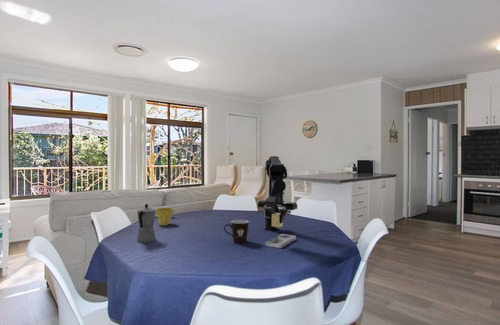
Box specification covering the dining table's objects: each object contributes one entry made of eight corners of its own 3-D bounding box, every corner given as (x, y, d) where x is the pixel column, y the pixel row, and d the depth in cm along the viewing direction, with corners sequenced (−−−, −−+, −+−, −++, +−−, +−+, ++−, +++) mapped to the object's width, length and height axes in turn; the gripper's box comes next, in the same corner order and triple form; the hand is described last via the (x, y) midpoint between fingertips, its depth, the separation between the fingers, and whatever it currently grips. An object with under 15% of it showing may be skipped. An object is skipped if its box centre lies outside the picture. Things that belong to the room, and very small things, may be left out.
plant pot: (166, 221, 191) (166, 206, 191) (176, 223, 185) (176, 208, 185) (152, 224, 182) (152, 208, 182) (163, 226, 176) (163, 210, 176)
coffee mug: (250, 240, 148) (251, 220, 148) (245, 244, 140) (245, 224, 140) (229, 238, 152) (229, 218, 152) (222, 242, 144) (223, 222, 143)
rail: (265, 245, 139) (265, 241, 139) (281, 237, 154) (281, 233, 154) (280, 248, 134) (280, 244, 134) (295, 239, 150) (295, 235, 150)
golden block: (271, 226, 140) (271, 213, 139) (275, 224, 143) (275, 212, 143) (279, 227, 137) (279, 214, 137) (282, 225, 141) (282, 213, 141)
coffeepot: (141, 236, 154) (142, 202, 154) (159, 236, 154) (159, 202, 154) (129, 244, 139) (129, 206, 139) (149, 244, 139) (149, 207, 139)
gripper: (251, 190, 138) (251, 223, 138) (288, 193, 128) (288, 228, 128) (263, 188, 147) (262, 219, 147) (297, 190, 138) (297, 223, 138)
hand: (276, 222), depth 140 cm, fingers closed on golden block, 4 cm apart
